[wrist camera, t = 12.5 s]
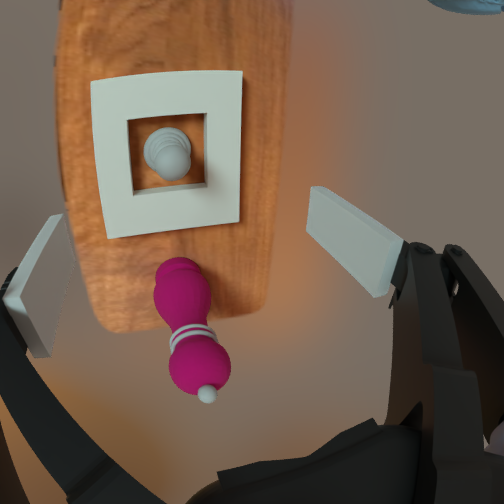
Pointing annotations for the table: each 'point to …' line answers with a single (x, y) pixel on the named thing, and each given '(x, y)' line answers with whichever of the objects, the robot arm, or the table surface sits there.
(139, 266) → the table surface
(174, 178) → the chess piece
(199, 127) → the table surface
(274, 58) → the table surface
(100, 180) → the socket board
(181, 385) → the pepper mill
